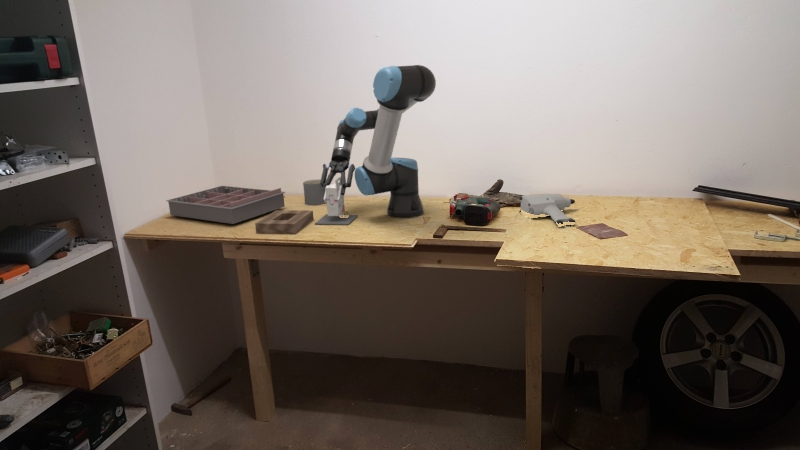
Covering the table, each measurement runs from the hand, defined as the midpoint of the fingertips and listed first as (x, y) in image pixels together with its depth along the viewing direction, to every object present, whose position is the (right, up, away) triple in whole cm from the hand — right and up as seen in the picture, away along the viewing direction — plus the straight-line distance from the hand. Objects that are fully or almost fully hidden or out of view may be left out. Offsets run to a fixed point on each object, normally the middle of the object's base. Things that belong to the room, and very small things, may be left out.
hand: (332, 201), depth 233 cm
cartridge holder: (-18, -10, 0) cm, 21 cm away
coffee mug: (-10, 0, +37) cm, 38 cm away
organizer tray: (-49, -5, +26) cm, 55 cm away
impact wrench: (+89, -7, -6) cm, 89 cm away
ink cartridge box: (+1, -5, +5) cm, 7 cm away
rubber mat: (+1, -8, +6) cm, 10 cm away
